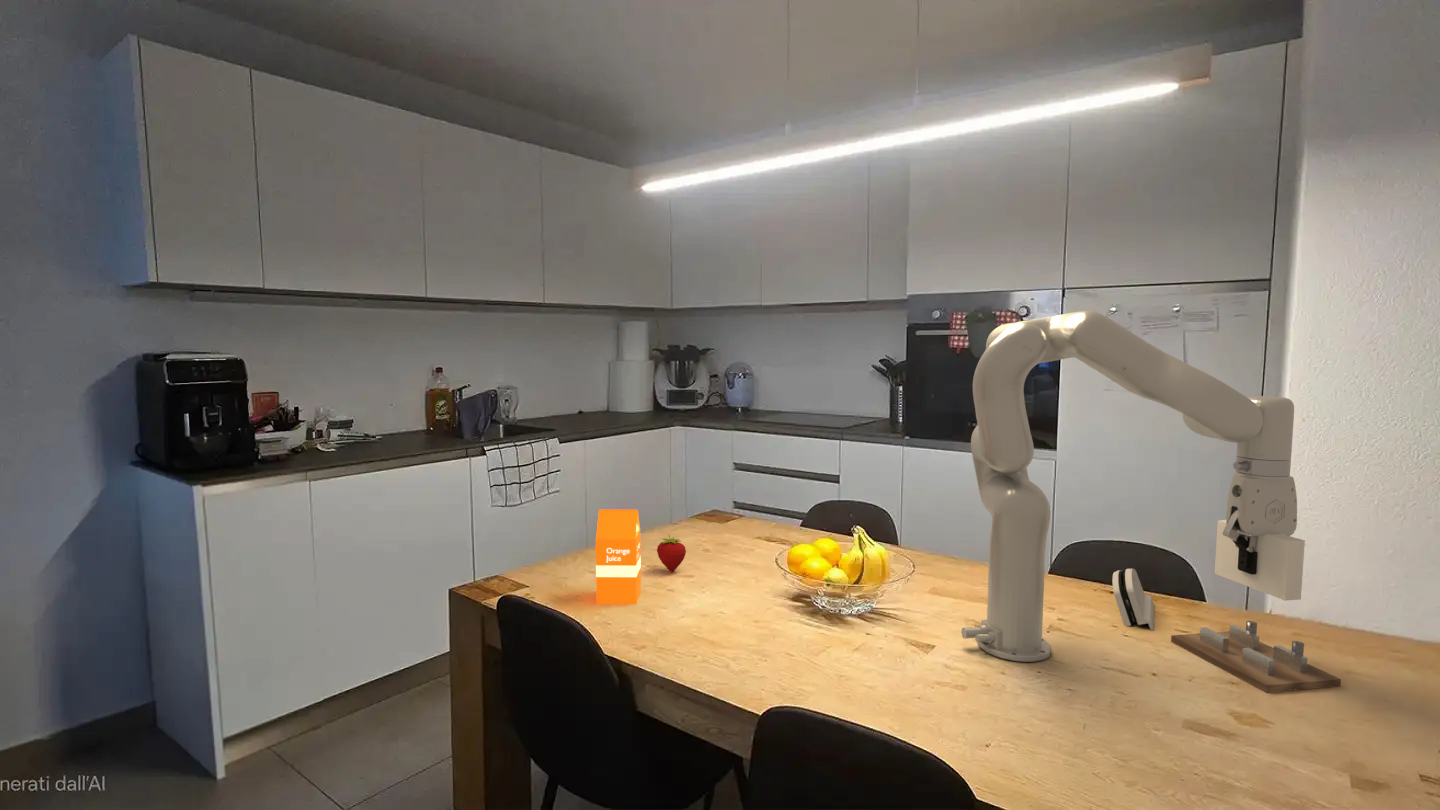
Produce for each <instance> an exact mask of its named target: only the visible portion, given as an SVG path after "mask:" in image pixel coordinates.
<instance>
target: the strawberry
mask: <svg viewBox="0 0 1440 810" xmlns="http://www.w3.org/2000/svg"><path fill="white" fill-rule="evenodd" d="M668 537H669V538H663V541H660V542H659V544H658V545H657V548H656V552H657V556H658V558H659V560H660V561H661V563H662V564H663V565H664V566H665V567H666V569H667V571H669V572H670V571H671V573H673V572H675V571H676V569H677V568H678V567H679V566H680V565H681V563H682V562H683V561H684V559H685V557H686V553H687V550H686V546H685V545H684V544H683V543H681V539H680V538H675V537H670V535H668Z"/></svg>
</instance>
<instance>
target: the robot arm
mask: <svg viewBox="0 0 1440 810" xmlns="http://www.w3.org/2000/svg"><path fill="white" fill-rule="evenodd" d="M1070 358H1072V359H1073V358H1075V359H1077V360H1079V361H1080V362H1082V363H1084V364H1086V366H1088V367H1090V368H1092V369H1094V370H1095V371H1097V372H1099V373H1100V374H1102V375H1103V376H1105V377H1107V379H1109V380H1111V381H1113V382H1114V383H1116V384H1117V385H1118V386H1120V387H1121V388H1123V389H1125V390H1126V391H1127V392H1130V393H1132V394H1134V395H1136V396H1139V397H1140V398H1143V399H1146V400H1150V401H1153V402H1155V403H1159V404H1161V405H1164V406H1166V407H1169V408H1170V409H1173V410H1175V411H1177V412H1180V413H1182V419H1183V422H1184V424H1185V426H1187V428H1189V430H1190V431H1192V432H1194V434H1195V433H1196V434H1197V435H1200V436H1204V437H1206V438H1207V437H1208V438H1210V439H1211V438H1212V439H1217V440H1220V441H1223V442H1227V443H1237V445H1236V458H1235V461H1236V462H1234V463H1233V464H1232V466H1233V468H1234V470H1235V474H1233V475H1232V479H1231V482H1230V487H1229V491H1228V495H1227V496H1228V497H1227V502H1226V509H1225V510H1226V511H1225V520H1226V524H1227V525H1226V527H1225V529H1224V531H1223V535H1224V536H1226V537H1228V538H1229V539H1231V540H1232V541H1233V542H1234V543H1235V546H1236V547H1237V548H1239V553H1238V570H1240V571H1243V572H1246V573H1249V574H1251V575H1255V574H1256V569H1257V553H1258V552H1255V551H1254V550H1255V545H1256V538H1257V536H1264V535H1265V534H1284V535H1287V536H1292V535H1294V533H1295V531H1296V530H1297V525H1298V497H1297V489H1296V488H1297V487H1296V483H1295V479H1294V477H1293V476H1291V467H1292V465H1291V464H1292V460H1291V459H1292V452H1293V437H1294V434H1293V433H1294V419H1295V405H1294V402H1293V400H1291V399H1290V398H1287V397H1282V396H1273V395H1269V396H1268V395H1249V396H1245V395H1244V394H1242V393H1241V392H1239V391H1238V390H1236V389H1234V388H1233V387H1231V386H1230V385H1228V384H1226V383H1225V382H1223V381H1222V380H1220V379H1218V378H1216V377H1214V376H1212V375H1210V374H1208V373H1206V372H1204V371H1202V370H1201V369H1198V368H1197V367H1194V366H1192V365H1191V364H1188V363H1186V362H1185V361H1182V360H1181V359H1179V358H1177V357H1175V356H1173V355H1171V354H1168V353H1167V352H1165V351H1162V350H1161V349H1159V348H1158V347H1157V346H1155V345H1153V344H1151V343H1150V342H1148V341H1147V340H1145V339H1143V338H1141V337H1140V336H1138V335H1136V334H1135V333H1133V332H1132V331H1130V330H1129V329H1127V328H1125V327H1124V326H1122V325H1121V324H1119V323H1117V321H1114V320H1112V319H1111V318H1110V317H1108V316H1106V315H1104V314H1102V313H1101V312H1097V311H1094V310H1093V311H1092V310H1081V311H1073V312H1068V313H1067V312H1066V313H1063V314H1057V315H1053V316H1047V317H1043V318H1042V317H1040V318H1036V319H1030V320H1022V321H1017V322H1016V321H1015V322H1009V323H1004V324H1001V325H999V326H997V327H996V328H995V329H993V330H992V331H991V332H990V334H989V335H988V337H987V339H986V344H985V350H984V351H983V353H982V355H981V356H980V359H979V360H978V362H977V365H976V367H975V370H974V375H973V377H972V378H973V380H972V395H973V396H972V397H973V404H974V408H975V418H976V422H977V425H976V426H975V428H974V429H973V431H972V434H971V438H970V449H971V451H970V452H971V456H972V461H973V467H974V470H975V476H976V480H977V481H976V482H977V486H978V491H979V495H980V499H981V502H982V505H983V506H984V508H985V509H986V510H987V512H988V513H989V515H991V520H992V521H991V530H990V535H989V536H990V537H989V545H988V575H987V578H988V579H987V607H986V611H987V612H986V619H981V621H980V622H981V623H980V624H979V625H977V626H976V627H972V626H971V627H962V628H961V636H962V638H963V639H974V640H975V643H977V645H978V646H979V648H980V649H982V650H983V651H985V652H986V653H987V654H990V655H992V656H993V657H997V658H1000V659H1004V660H1008V661H1014V662H1023V663H1031V662H1039V661H1043V660H1046V659H1048V658H1049V657H1050V655H1051V652H1052V647H1051V646H1052V645H1050V643H1049V642H1048V641H1047V640H1046V639H1044V638H1043V619H1044V617H1043V615H1044V596H1045V595H1044V594H1045V593H1044V592H1045V591H1044V590H1045V563H1046V549H1047V548H1046V546H1047V539H1048V538H1047V537H1048V533H1049V528H1050V522H1051V521H1050V520H1051V506H1050V503H1049V500H1048V498H1047V496H1046V494H1045V493H1044V491H1043V490H1042V489H1041V488H1040V487H1039V486H1038V485H1036V484H1035V483H1033V482H1032V481H1031V480H1030V479H1029V473H1028V467H1029V465H1030V464H1031V462H1032V460H1033V457H1034V455H1035V454H1034V452H1035V447H1034V442H1033V438H1032V433H1031V429H1030V424H1029V418H1028V414H1027V410H1026V409H1027V408H1026V403H1025V393H1024V389H1025V388H1024V387H1025V382H1026V379H1027V377H1028V375H1029V374H1030V371H1031V370H1032V369H1033V368H1034V367H1035V366H1036V365H1038V364H1042V363H1043V364H1044V363H1049V362H1053V361H1054V362H1055V361H1060V360H1065V359H1070ZM1245 536H1248V540H1246V539H1245Z"/></svg>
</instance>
